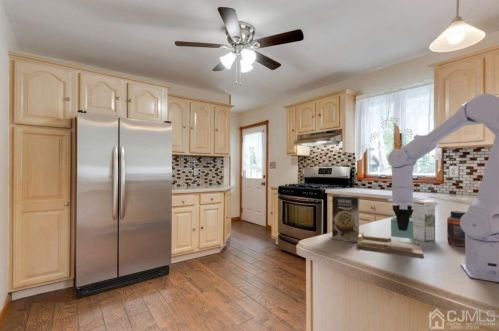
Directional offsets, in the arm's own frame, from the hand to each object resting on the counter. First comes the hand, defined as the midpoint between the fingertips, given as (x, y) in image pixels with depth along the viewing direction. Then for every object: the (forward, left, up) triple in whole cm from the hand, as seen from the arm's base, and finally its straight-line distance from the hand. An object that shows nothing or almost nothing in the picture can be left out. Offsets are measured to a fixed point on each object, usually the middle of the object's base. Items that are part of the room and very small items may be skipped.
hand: (402, 228), depth 82 cm
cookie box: (+4, +18, -7) cm, 20 cm away
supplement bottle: (+15, -17, -7) cm, 24 cm away
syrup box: (+17, -7, -7) cm, 20 cm away
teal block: (0, 0, -2) cm, 2 cm away
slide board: (0, +4, -7) cm, 8 cm away
